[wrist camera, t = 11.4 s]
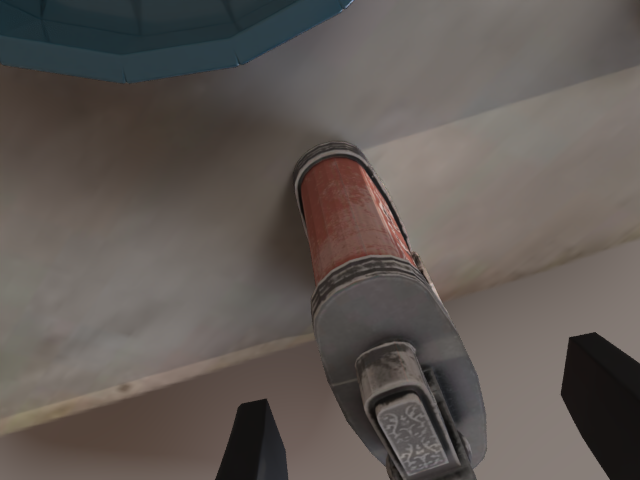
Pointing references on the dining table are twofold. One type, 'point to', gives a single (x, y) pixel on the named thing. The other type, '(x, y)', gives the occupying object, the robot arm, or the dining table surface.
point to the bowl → (150, 34)
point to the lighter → (385, 325)
